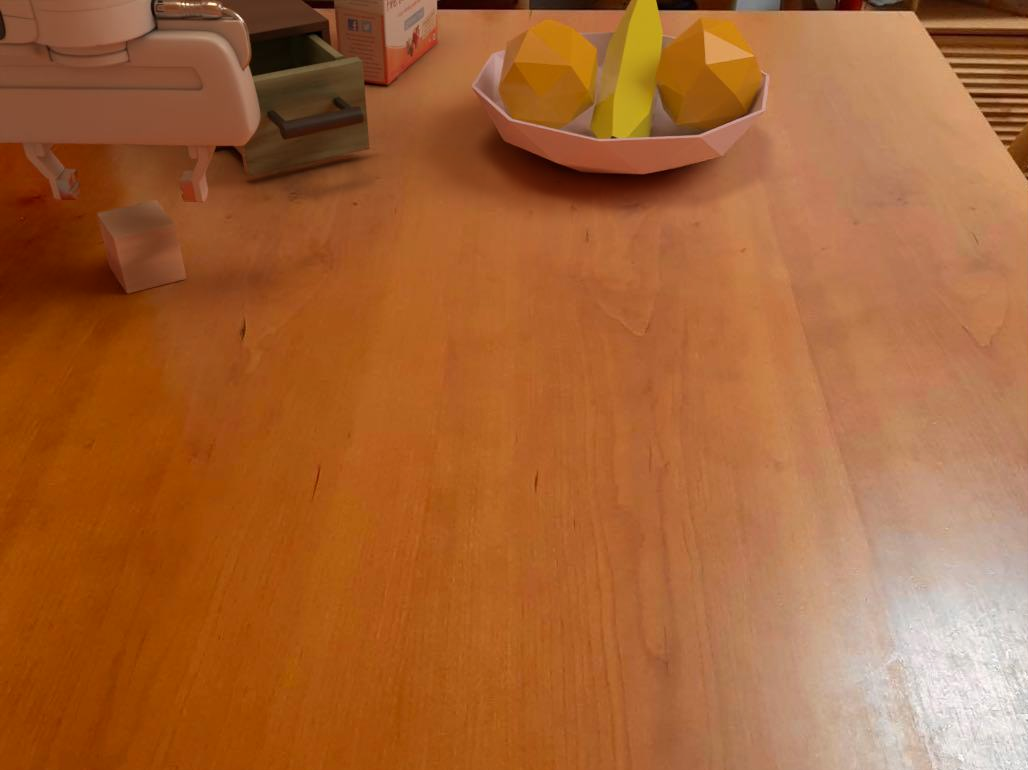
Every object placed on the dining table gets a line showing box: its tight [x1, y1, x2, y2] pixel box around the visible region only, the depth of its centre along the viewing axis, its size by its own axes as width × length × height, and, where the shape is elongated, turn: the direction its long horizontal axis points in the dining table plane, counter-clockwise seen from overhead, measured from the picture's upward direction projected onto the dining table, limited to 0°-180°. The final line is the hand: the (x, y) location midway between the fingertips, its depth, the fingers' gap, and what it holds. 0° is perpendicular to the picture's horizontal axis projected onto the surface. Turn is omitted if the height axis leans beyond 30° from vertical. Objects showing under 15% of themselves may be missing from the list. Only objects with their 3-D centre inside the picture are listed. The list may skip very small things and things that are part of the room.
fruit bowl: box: [470, 0, 771, 175], centre depth 105 cm, size 28×27×11 cm
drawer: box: [233, 32, 370, 176], centre depth 103 cm, size 19×11×8 cm, turn 30°
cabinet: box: [182, 0, 332, 152], centre depth 110 cm, size 16×13×10 cm
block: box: [96, 199, 187, 295], centre depth 88 cm, size 5×5×5 cm
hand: (132, 198), depth 85 cm, fingers open, 8 cm apart
